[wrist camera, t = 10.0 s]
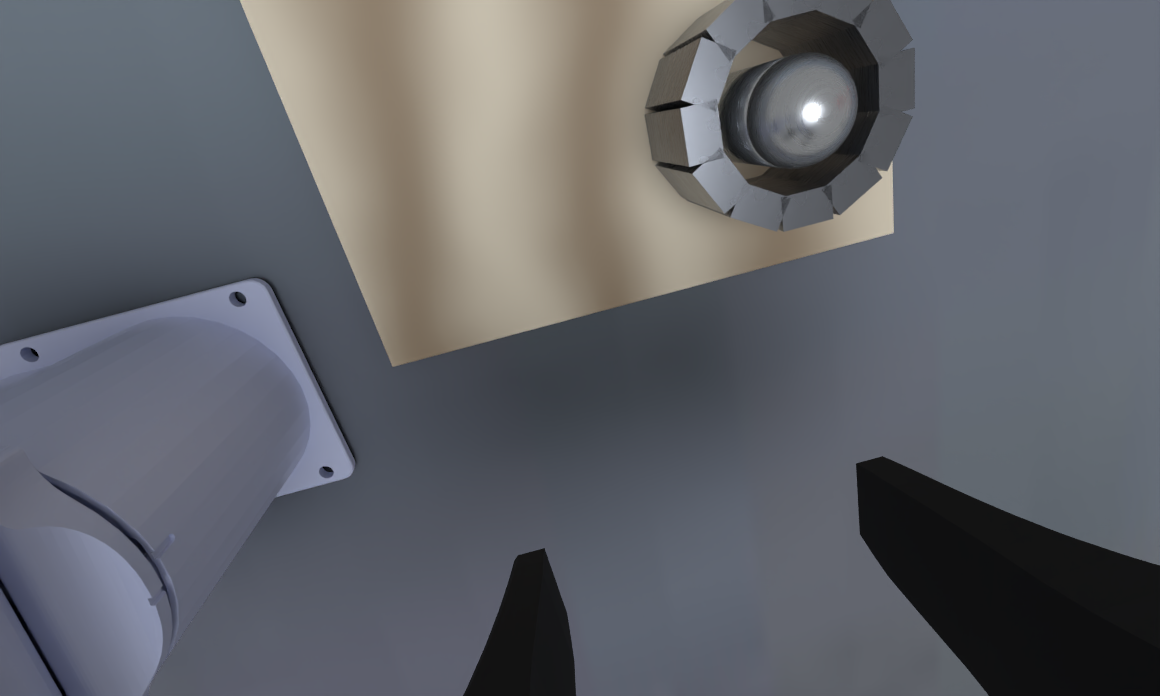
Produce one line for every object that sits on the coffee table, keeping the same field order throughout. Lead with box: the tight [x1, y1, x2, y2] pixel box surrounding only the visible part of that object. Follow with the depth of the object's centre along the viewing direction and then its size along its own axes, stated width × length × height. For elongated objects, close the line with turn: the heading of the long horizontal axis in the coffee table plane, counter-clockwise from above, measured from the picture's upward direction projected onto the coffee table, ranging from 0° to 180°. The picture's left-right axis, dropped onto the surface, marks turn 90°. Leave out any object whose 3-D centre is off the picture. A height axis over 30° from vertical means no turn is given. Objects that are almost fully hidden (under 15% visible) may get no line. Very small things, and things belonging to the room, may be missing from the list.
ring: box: [644, 0, 915, 232], centre depth 15 cm, size 6×6×4 cm
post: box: [718, 52, 858, 169], centre depth 14 cm, size 3×3×5 cm
